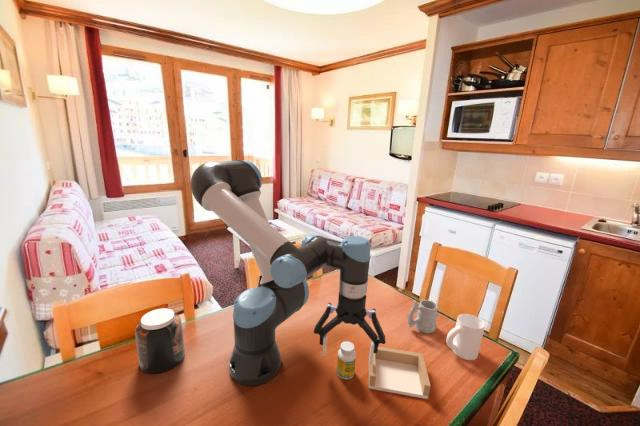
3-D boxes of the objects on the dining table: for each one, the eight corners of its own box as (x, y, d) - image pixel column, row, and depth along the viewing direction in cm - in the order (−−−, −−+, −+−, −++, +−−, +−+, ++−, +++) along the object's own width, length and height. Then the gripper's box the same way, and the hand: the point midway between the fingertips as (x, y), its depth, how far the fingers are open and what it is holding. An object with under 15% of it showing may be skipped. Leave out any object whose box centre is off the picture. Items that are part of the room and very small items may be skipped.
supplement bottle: (346, 363, 88) (349, 337, 85) (358, 375, 84) (360, 348, 81) (332, 370, 85) (334, 343, 82) (343, 383, 81) (346, 355, 78)
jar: (150, 382, 78) (144, 336, 74) (133, 360, 85) (126, 317, 81) (191, 357, 87) (188, 315, 83) (172, 339, 94) (168, 300, 90)
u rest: (368, 388, 80) (370, 375, 78) (368, 356, 91) (370, 345, 90) (428, 399, 77) (430, 386, 76) (420, 365, 89) (422, 353, 87)
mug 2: (436, 345, 97) (441, 315, 94) (464, 341, 100) (471, 311, 97) (452, 364, 90) (459, 332, 87) (483, 358, 93) (490, 327, 90)
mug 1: (440, 332, 104) (445, 304, 101) (411, 337, 101) (416, 307, 98) (427, 319, 111) (432, 292, 108) (400, 323, 108) (404, 295, 105)
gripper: (305, 293, 75) (302, 359, 81) (400, 306, 72) (391, 374, 77) (310, 280, 83) (308, 341, 88) (398, 291, 79) (389, 354, 84)
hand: (347, 357), depth 83 cm, fingers open, 13 cm apart
